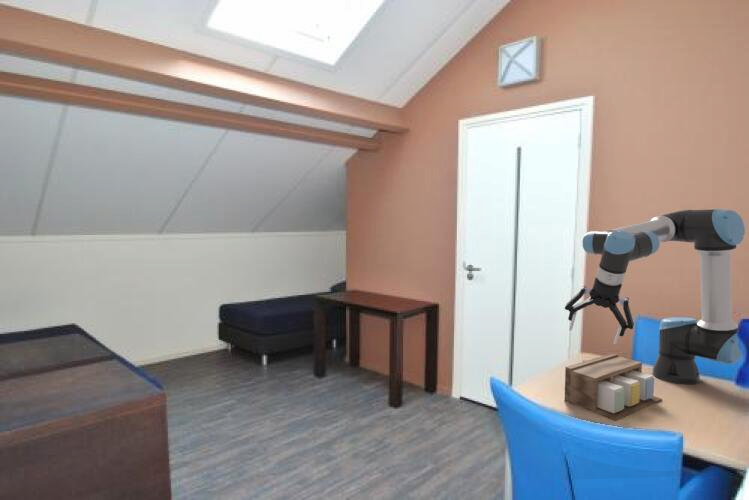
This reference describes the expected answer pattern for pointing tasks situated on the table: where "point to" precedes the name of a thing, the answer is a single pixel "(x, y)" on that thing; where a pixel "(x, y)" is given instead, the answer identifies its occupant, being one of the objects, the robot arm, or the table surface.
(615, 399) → the sage key
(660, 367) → the robot arm
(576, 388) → the brown boxy piece
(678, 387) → the table surface
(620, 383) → the mustard key
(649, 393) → the white and blue block
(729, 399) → the table surface
